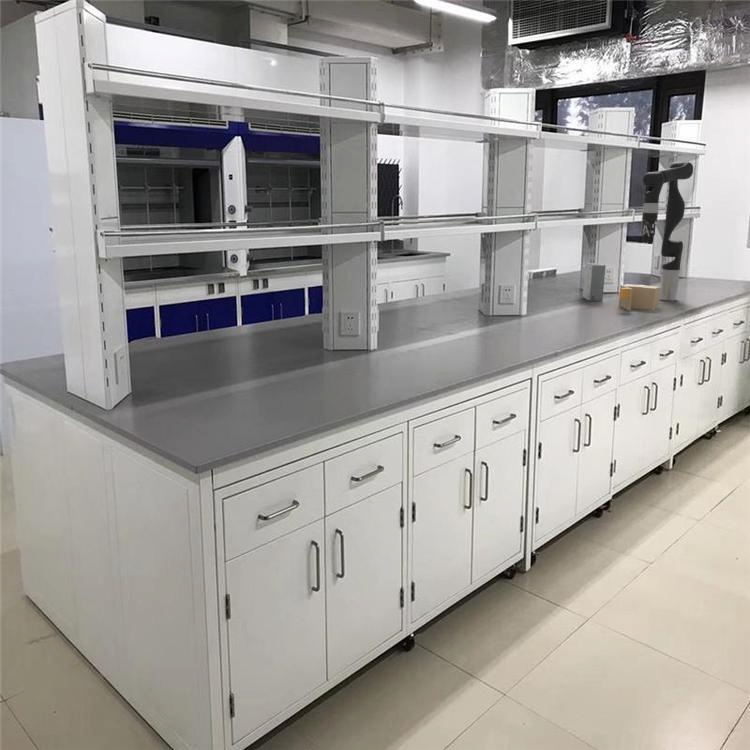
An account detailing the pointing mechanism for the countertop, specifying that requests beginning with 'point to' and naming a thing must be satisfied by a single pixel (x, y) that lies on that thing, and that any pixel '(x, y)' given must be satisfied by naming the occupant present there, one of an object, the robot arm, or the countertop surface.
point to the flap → (625, 297)
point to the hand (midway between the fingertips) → (647, 243)
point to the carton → (644, 296)
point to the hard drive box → (593, 281)
